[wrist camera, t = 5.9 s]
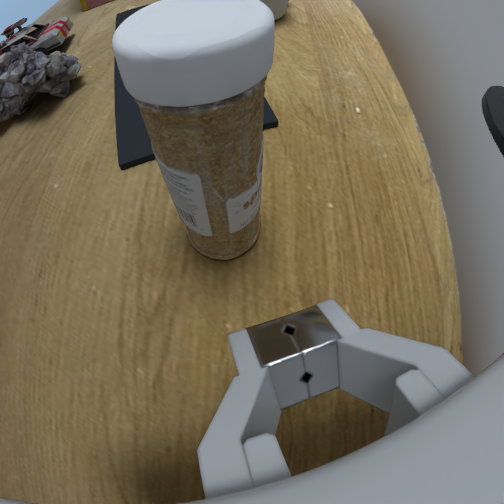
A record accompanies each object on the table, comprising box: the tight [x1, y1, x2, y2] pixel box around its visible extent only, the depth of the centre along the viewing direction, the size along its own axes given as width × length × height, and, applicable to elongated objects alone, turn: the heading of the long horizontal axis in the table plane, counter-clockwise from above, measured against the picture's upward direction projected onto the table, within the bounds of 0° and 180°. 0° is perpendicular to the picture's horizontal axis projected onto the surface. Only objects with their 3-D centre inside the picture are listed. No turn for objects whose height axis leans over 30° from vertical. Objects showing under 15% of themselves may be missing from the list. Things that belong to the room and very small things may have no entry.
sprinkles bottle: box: [112, 0, 274, 260], centre depth 12 cm, size 5×5×13 cm
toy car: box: [0, 17, 74, 56], centre depth 25 cm, size 8×18×8 cm, turn 101°
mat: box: [115, 3, 278, 170], centre depth 26 cm, size 32×12×1 cm, turn 19°
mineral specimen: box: [0, 42, 81, 124], centre depth 21 cm, size 12×9×10 cm
